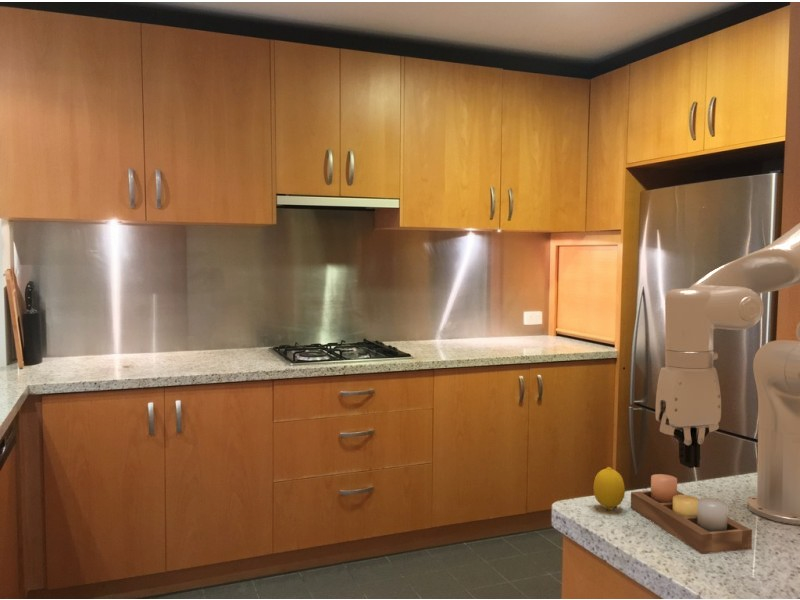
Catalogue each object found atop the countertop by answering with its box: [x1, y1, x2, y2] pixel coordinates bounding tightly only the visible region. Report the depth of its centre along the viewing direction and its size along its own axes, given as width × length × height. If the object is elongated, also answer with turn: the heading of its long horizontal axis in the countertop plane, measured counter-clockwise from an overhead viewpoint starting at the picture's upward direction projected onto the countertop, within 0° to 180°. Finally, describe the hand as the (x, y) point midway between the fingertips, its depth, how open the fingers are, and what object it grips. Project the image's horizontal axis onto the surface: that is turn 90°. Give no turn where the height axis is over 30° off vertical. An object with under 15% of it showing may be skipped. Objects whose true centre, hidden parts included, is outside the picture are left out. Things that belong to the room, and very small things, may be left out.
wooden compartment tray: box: [630, 490, 753, 555], centre depth 110 cm, size 9×20×3 cm, turn 11°
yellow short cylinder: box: [673, 494, 699, 517], centre depth 110 cm, size 4×4×4 cm
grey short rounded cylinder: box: [697, 497, 729, 532], centre depth 103 cm, size 4×4×4 cm
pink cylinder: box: [650, 473, 678, 503], centre depth 116 cm, size 4×4×4 cm
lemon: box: [592, 466, 626, 511], centre depth 118 cm, size 6×6×8 cm
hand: (689, 465), depth 110 cm, fingers closed
